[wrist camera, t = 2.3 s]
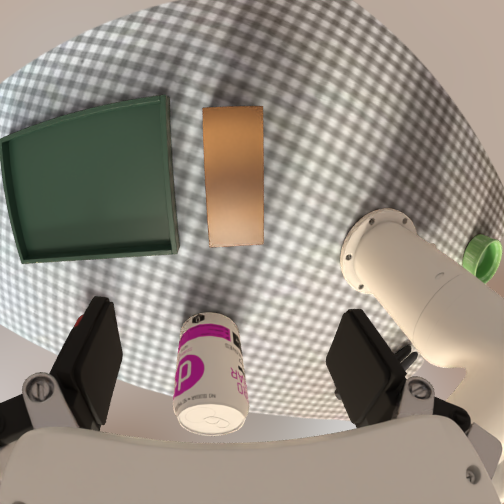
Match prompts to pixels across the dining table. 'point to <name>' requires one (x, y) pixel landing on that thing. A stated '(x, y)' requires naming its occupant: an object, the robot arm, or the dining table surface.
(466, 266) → the ramekin
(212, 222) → the tan wooden block
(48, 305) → the dining table surface
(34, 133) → the tray
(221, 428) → the supplement can
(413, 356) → the can opener
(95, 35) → the dining table surface
